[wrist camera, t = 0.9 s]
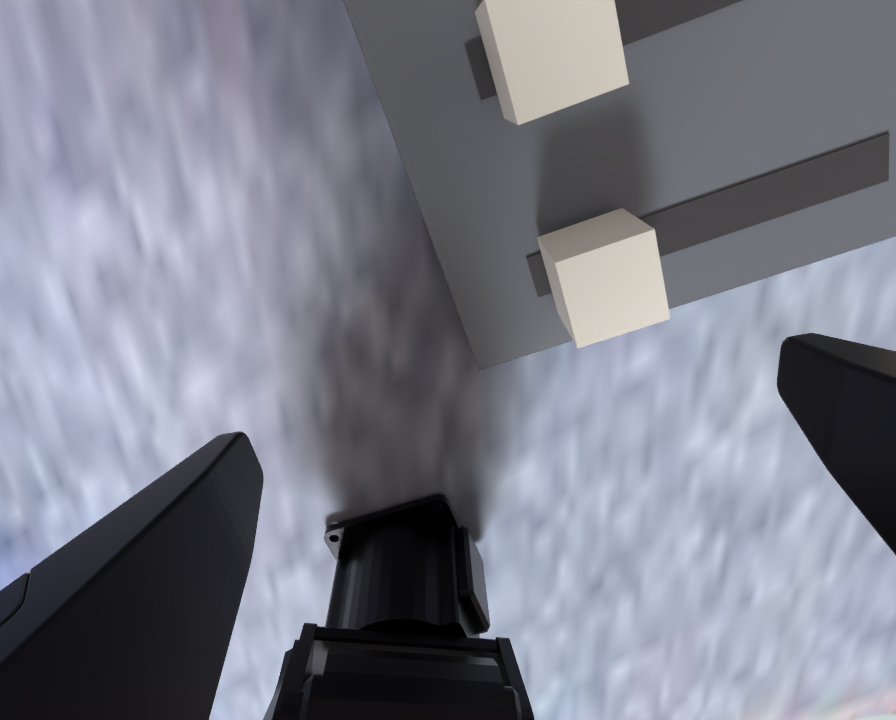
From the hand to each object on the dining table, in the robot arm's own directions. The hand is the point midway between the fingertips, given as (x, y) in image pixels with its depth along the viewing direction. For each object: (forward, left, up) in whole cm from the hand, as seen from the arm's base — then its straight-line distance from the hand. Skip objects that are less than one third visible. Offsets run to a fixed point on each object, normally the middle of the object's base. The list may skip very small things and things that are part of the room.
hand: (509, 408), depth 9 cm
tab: (+4, +5, -11) cm, 13 cm away
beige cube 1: (+4, -2, -11) cm, 12 cm away
